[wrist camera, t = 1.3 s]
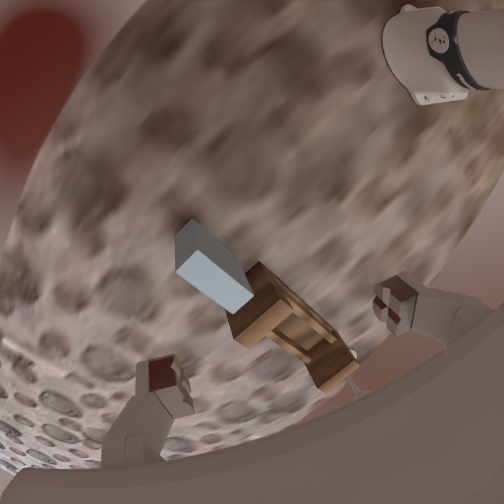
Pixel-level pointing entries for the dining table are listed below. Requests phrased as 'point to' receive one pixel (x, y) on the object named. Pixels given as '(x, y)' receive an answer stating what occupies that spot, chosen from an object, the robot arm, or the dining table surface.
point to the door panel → (211, 267)
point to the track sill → (291, 329)
